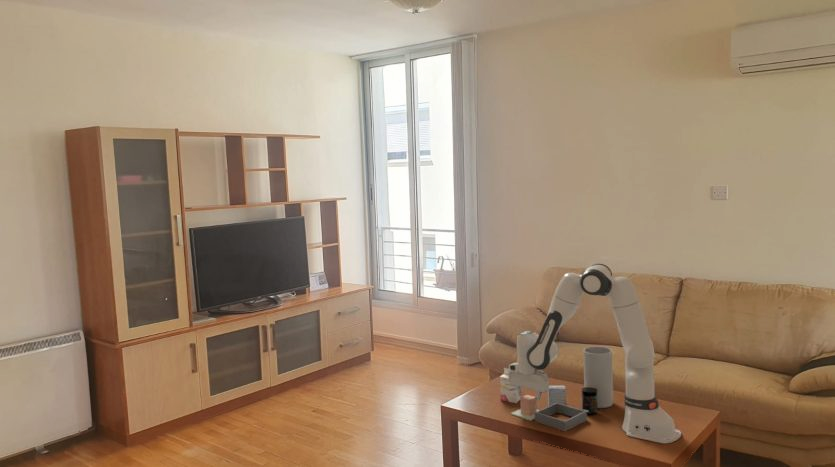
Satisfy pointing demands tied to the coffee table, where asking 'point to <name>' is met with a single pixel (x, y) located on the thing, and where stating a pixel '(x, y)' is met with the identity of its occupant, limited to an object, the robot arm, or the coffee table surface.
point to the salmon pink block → (528, 405)
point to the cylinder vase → (599, 374)
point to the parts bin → (545, 418)
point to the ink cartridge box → (508, 389)
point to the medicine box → (557, 395)
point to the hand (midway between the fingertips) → (529, 397)
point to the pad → (523, 415)
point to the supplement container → (589, 400)
